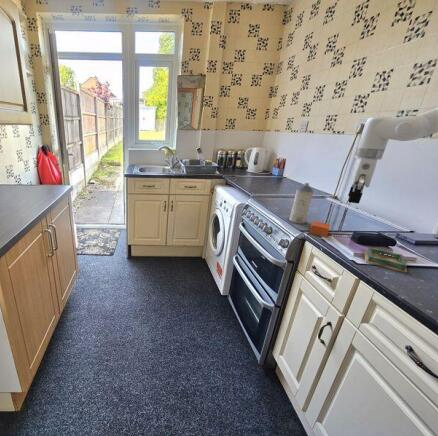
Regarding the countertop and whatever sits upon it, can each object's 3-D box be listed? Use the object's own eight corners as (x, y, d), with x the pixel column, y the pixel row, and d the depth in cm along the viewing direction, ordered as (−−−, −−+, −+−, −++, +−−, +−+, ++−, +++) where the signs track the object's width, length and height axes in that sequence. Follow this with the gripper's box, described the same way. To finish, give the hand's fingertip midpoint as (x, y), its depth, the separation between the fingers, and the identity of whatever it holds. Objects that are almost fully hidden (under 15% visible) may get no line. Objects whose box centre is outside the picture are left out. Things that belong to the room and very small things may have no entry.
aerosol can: (307, 224, 121) (319, 184, 114) (295, 225, 120) (306, 185, 112) (297, 219, 127) (307, 181, 120) (285, 220, 126) (295, 181, 119)
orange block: (327, 233, 111) (330, 224, 109) (326, 238, 106) (329, 228, 104) (310, 229, 114) (313, 220, 113) (309, 234, 110) (311, 225, 108)
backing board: (401, 261, 89) (404, 254, 88) (406, 274, 81) (409, 267, 80) (363, 252, 95) (366, 245, 94) (364, 263, 87) (367, 256, 86)
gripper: (385, 157, 79) (367, 207, 86) (380, 153, 92) (364, 196, 98) (356, 155, 83) (340, 202, 90) (355, 151, 96) (341, 193, 103)
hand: (353, 199), depth 94 cm, fingers open, 9 cm apart
